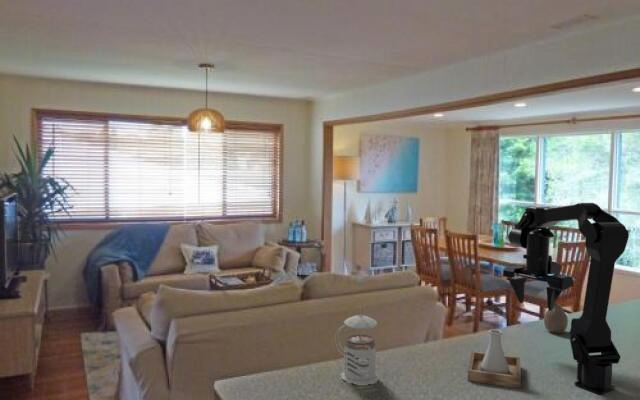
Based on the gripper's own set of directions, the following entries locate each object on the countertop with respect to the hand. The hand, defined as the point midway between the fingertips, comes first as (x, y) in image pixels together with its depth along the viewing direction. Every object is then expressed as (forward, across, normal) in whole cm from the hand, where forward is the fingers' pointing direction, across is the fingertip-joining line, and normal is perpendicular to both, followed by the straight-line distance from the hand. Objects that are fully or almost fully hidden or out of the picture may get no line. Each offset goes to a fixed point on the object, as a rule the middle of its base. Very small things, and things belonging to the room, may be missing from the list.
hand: (535, 306), depth 143 cm
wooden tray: (+13, -4, +22) cm, 26 cm away
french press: (+13, +12, +53) cm, 56 cm away
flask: (+12, -4, +22) cm, 26 cm away
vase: (+13, +8, -22) cm, 27 cm away
